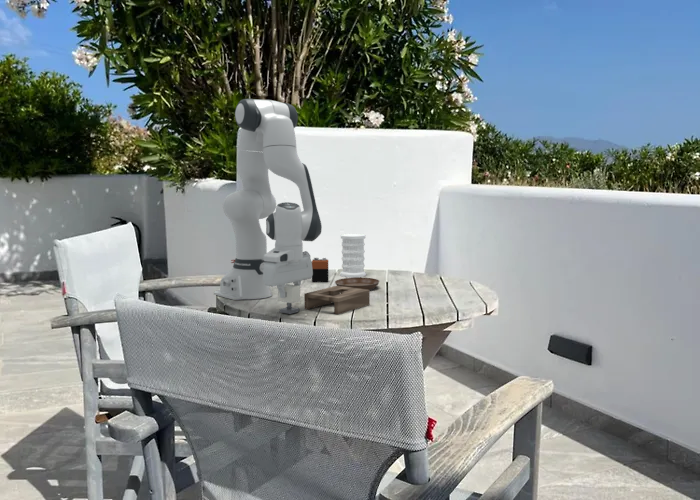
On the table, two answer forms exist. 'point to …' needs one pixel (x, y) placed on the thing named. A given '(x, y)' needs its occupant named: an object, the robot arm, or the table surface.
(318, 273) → the battery
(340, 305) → the brown open frame
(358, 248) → the decorative container
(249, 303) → the table surface
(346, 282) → the plant saucer
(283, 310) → the gray rectangular block
